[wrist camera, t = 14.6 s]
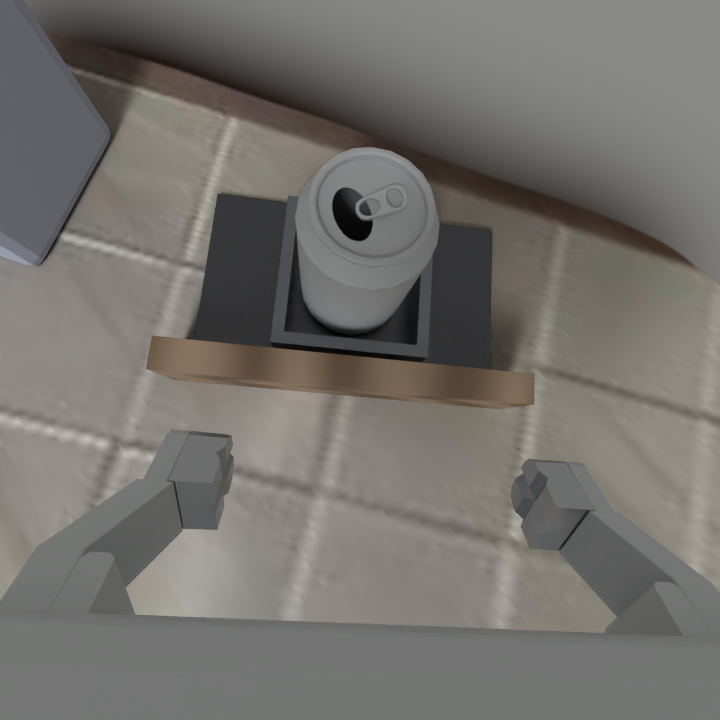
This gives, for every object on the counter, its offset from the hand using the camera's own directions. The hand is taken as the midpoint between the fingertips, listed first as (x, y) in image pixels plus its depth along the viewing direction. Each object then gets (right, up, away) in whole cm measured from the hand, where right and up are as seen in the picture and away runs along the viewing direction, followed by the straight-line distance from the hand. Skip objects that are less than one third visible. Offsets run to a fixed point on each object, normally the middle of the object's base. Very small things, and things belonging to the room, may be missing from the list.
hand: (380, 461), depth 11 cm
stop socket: (-1, +8, +20) cm, 22 cm away
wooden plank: (-2, +1, +19) cm, 19 cm away
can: (-1, +8, +20) cm, 21 cm away
